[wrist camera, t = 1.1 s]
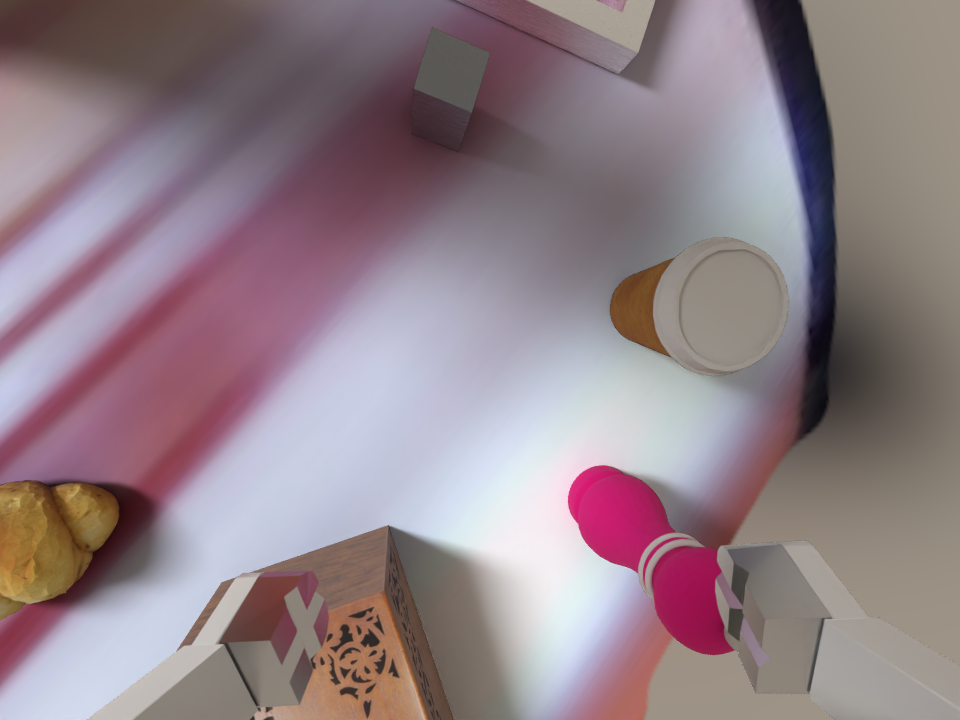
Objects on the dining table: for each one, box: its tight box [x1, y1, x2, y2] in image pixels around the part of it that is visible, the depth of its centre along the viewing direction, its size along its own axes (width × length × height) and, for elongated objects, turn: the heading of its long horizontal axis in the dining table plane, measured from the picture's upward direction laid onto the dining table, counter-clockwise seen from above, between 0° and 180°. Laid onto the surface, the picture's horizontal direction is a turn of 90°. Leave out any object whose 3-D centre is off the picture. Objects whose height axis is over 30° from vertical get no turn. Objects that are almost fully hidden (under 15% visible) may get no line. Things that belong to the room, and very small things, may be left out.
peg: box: [411, 27, 490, 152], centre depth 35 cm, size 4×4×8 cm
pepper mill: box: [568, 466, 739, 655], centre depth 35 cm, size 7×7×20 cm
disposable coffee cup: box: [610, 237, 789, 376], centre depth 37 cm, size 10×10×12 cm
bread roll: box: [0, 480, 119, 620], centre depth 33 cm, size 13×10×8 cm
